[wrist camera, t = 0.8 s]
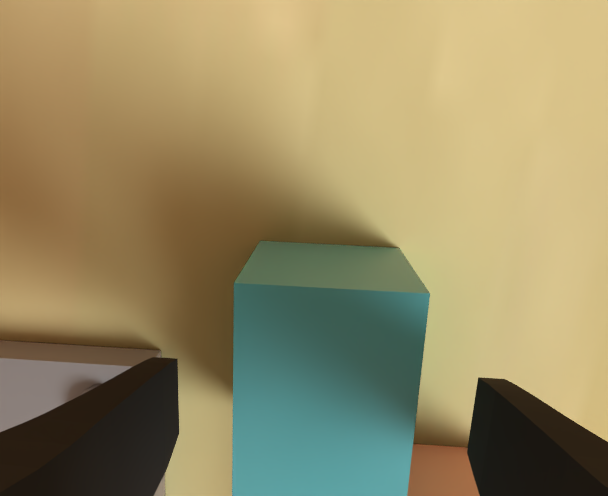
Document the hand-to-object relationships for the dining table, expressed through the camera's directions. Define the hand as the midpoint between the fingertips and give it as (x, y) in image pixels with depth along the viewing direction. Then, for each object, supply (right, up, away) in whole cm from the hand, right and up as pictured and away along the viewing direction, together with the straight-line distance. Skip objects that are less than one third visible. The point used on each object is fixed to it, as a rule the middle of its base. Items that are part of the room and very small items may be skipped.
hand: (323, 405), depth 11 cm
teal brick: (0, +1, +4) cm, 5 cm away
